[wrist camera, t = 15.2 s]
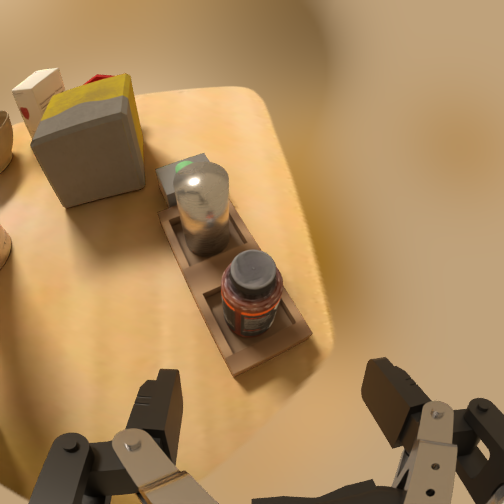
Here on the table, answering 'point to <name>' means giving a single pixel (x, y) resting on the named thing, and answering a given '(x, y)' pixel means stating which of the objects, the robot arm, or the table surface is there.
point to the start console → (168, 174)
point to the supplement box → (37, 95)
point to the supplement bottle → (251, 293)
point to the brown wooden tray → (210, 299)
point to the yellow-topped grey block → (91, 141)
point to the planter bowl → (5, 140)
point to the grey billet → (203, 207)
